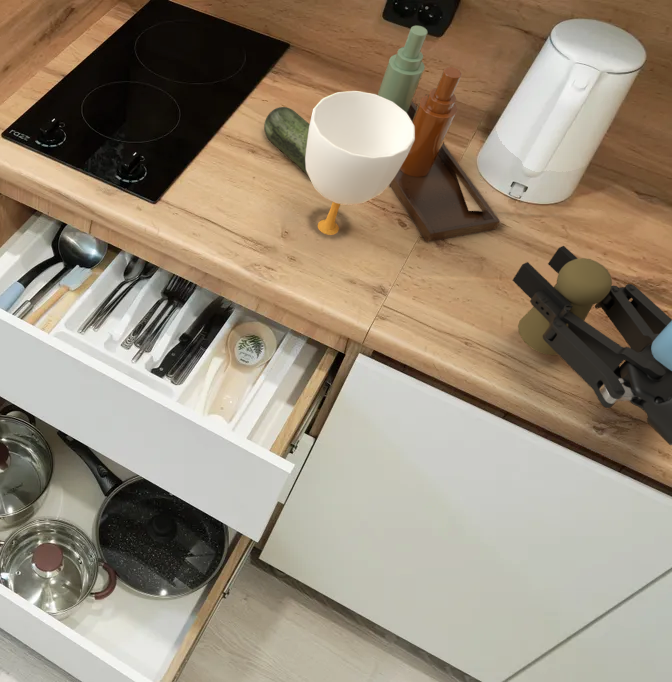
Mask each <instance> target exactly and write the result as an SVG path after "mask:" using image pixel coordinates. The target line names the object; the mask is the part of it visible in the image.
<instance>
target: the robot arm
mask: <svg viewBox="0 0 672 682" xmlns="http://www.w3.org/2000/svg"><path fill="white" fill-rule="evenodd" d="M575 259H579V258H578V257H577V256H576V255H575V254H574V253H573V252H571V250H569V249H568V248H567V247H566V246H565V245H562V246H560V247H558V249H557V250H556V251H555V253H554V254H553V256H552V257H551V259H550V260H549V262H548V263H547V265H548V266H550V268H551V269H552V270H554V272H556V273H557V275H558V274H559V271H560V270H561V268H562V267H563V266H564V265H565V264H567V263H568V262H570V261H572V260H575ZM512 282H513V283H514V284H515V285H516V286H517V287H518V288H519V289H520V290H521V291H522V292H524V293H525V295H526V296H527V297H529V299H530V300H529V302H530V304H531V306H532V307H535V308H536V309H537V310H538V311H539V312H540V313H541V314H542V315H543V316H544V317H545V318H546V319H547V320H548V322H549V324H550V325H549V328H548V329H547V330H546V332H545V333H544V334H543V336H542V337H543V339H544V341H545V342H546V343H547V344H548V345H549V346H550V347H551V348H552V349H553V350H554V351H555V352H556V353H557V354H558V355H557V356H559V357H560V358H561V359H562V360H563V361H564V362H565V363H566V364H567V365H568V366H569V367H570V368H571V369H572V370H573V371H574V372H575V373H576V374H577V375H578V376H579V377H580V378H581V379H582V380H583V381H584V382H585V383H586V384H587V385H588V386H589V387H590V388H591V389H592V390H593V392H594V394H595V395H596V398H597V400H598V401H599V403H600V405H602V407H604V408H606V409H610V408H612V407H613V406H614V405H615V404H616V403H622V402H629V403H631V404H632V405H633V406H635V407H638V408H640V409H641V410H642V411H643V412H645V414H646V422H647V424H648V425H649V426H650V428H652V429H653V430H654V431H655V432H656V433H657V434H658V435H659V436H660V437H661V438H662V439H663V440H664V441H665V442H666V443H667V444H668V445H669V446H672V318H671V317H670V316H669V315H667V313H666V312H664V311H663V310H662V309H661V308H660V307H659V306H658V305H656V304H655V302H654V301H652V300H651V299H650V298H649V297H648V296H647V295H646V294H644V293H643V292H642V291H641V290H640V289H639V288H638V287H637V286H636V285H635V284H632V283H627V284H626V285H625V286H622V287H620V286H617V285H614V284H613V285H611V289H610V292H609V293H608V294H607V296H606V297H605V298H604V299H603V300H602V301H600V302H599V303H596V304H594V308H595V310H597V309H602V311H604V313H605V315H606V316H607V317H608V319H609V320H610V321H611V323H612V324H613V326H614V327H615V329H616V330H617V331H618V333H619V334H620V336H622V338H623V339H624V341H625V342H626V343H627V345H628V346H622V345H620V344H619V343H617V342H616V341H615V340H613V339H611V338H610V337H608V336H607V335H605V334H604V333H603V332H601V331H599V329H597V328H595V327H594V326H592V324H590V323H588V322H587V321H585V320H582V319H581V318H579V317H578V316H576V315H575V314H573V313H572V312H570V310H571V308H572V307H573V306H571V303H570V302H569V301H568V300H567V299H566V298H565V297H564V296H563V295H561V294H560V293H559V292H558V291H557V290H556V289H555V288H554V285H552V284H551V283H550V282H549V280H547V279H546V278H545V277H544V276H543V275H542V274H541V273H540V272H539V271H538V270H537V269H536V268H534V266H533V265H531V263H529V261H526V262H524V263H523V264H521V266H520V267H519V269H518V271H517V272H516V274H515V275H514V277H513V278H512ZM631 299H632V300H631ZM630 300H631V301H630ZM566 324H568V327H567V326H566Z"/></svg>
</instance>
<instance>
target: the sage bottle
mask: <svg viewBox="0 0 672 682" xmlns="http://www.w3.org/2000/svg"><path fill="white" fill-rule="evenodd" d="M427 36H428V29H426V27H424V26H421V25H413V26H411V27H410V30H409V32H408V35H407V38H406V41H405V44H404V46H402V47H400V48H398V50H397V52H396V53H395V54H393V55H391V56H390V57H389V60H388V62H387V65H386V68H385V71H384V74H383V76H382V78H381V79H382V80H381V83H380V85H379V88H378V91H377V94H376V95H378V96H380V97H383V98H385V99H387V100H390V101H392V102H394V103H395V104H396V105H397V106H399V107H400V108H401V109H402V110H404V111H405V112H406V113H408V110H409V107H410V105H411V102H412V101H413V99H414V97H415V95H416V92H417V90H418V86H419V85H420V81H421V79H422V78H423V77H422V76H423V73H424V72H425V68H426V67H425V64H424V62H423V59H424V54H423V52H422V49H423V47H424V43H425V41H426V38H427Z"/></svg>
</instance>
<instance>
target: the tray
mask: <svg viewBox="0 0 672 682" xmlns="http://www.w3.org/2000/svg"><path fill="white" fill-rule="evenodd" d="M417 107H418V106H417V105H416V104H415V103H414V101H413V100H412V102H411V105H410V107H409V110H408V113H407V114H408V116H409V118H410V119H411V121H412V120H413V117H414V115H415V112H416V110H417ZM458 179H459V180H460V182H461V183H462V184H463V186H464V187H465V189H466V190H467V192H468V193H469V194H470V196H471V197H472V199H474V201H475V203H476V204H477V205H478V206H479V208H480V209H481V210H469V208H468V205H467V202H466V200H465V196H464V194H463V190H462V188H461V184H460V182H459V180H458ZM389 187H390V188H391V190H392V192H393V193H394V194H395V196H396V197H397V198H398V201H399V202H400V203H401V205H402V207H403V208H404V210H405V212H406V213H407V215H408V216H409V217H410V219H411V220H412V222H413V224H414V225H415V227H416V228H417V230H418V231H419V233H420V235H421V236H422V238H423V239H424V241H425V242H426V243H430V242H436V241H441V240H445V239H452V238H457V237H463V236H467V235H472V234H479V233H483V232H489V231H495V230H496V229H497V227H498V226H499V224H500V222H501V220H500V219H499V218H498V216H497V215H496V213H495V212H494V211H493V209H492V208H491V206H490V205H489V204H488V203H487V201H486V200H485V198H484V197H483V195H482V194H481V193H480V192H479V190H478V189H477V187H476V186H475V185H474V183H473V182H472V181H471V179H470V178H469V177H468V175H467V173H465V171H464V170H463V168H462V167H461V165H460V164H459V162H458V161H457V160H456V159H455V157H454V155H452V153H451V152H450V150H449V149H448V148H447V146H446V145H445V144H444V143H443V144H442V146H441V148H440V151H439V153H438V155H437V157H436V160H435V162H434V164H433V166H432V168H431V171H430V172H429V174H427V175H426V176H423V177H413V176H409V175H407V174H405V173H403V172H402V171H401V170H400V169H399V171H398V173H397V174H396V176H395V177H394V179H393V180H392V181H391V183H390V184H389Z"/></svg>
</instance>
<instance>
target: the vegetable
mask: <svg viewBox="0 0 672 682" xmlns="http://www.w3.org/2000/svg"><path fill="white" fill-rule="evenodd" d="M263 125H264V126H263V128H264V129H263V132H264V134H265V136H266V138H267V139H268V140H269V142H270V143H272V144H273V145H274V146H275V147H276V148H277V149H278V150H280V151H281V152H282V153H283V154H285V155H286V156H287V157H288V158H289V159H290V160H291V161H292V162H293V163H294V164H296V165H297V166H298V167H299V168H300V169H301V170H302V171H303V172H304V173H305V174H306V175H307V176H308V173H307V171H306V163H305V156H306V147H307V139H308V131H309V125H310V122H308V121H307V120H305V119H304V118H303V117H302V116H301V115H300V114H299V113H297V112H296V111H295V110H294V109H292V108H290V107H287V106H279V107H276V108H274V109H273V110H271V111H270V112H269V113H268V115H267V116H266V118H265V120H264V123H263Z"/></svg>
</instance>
